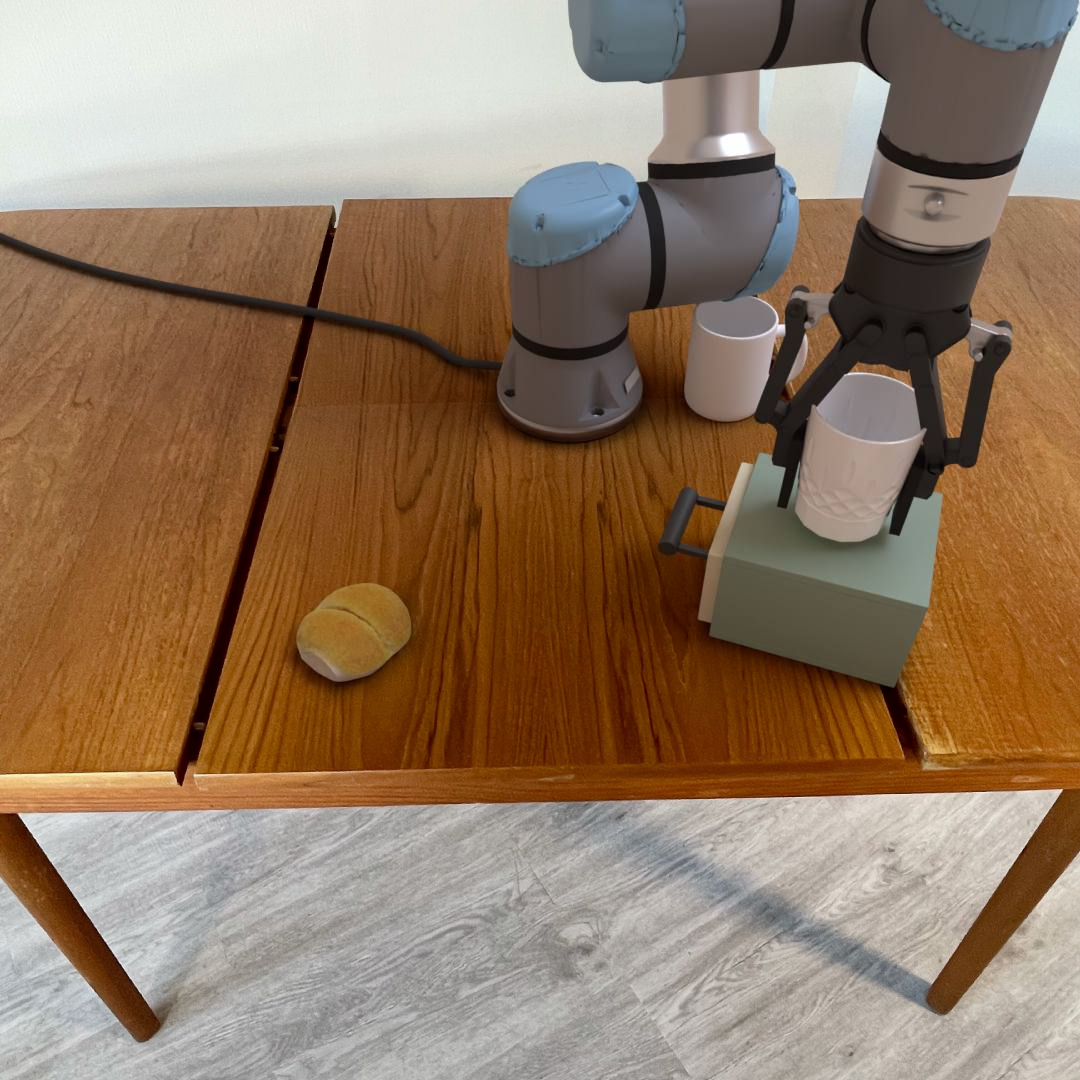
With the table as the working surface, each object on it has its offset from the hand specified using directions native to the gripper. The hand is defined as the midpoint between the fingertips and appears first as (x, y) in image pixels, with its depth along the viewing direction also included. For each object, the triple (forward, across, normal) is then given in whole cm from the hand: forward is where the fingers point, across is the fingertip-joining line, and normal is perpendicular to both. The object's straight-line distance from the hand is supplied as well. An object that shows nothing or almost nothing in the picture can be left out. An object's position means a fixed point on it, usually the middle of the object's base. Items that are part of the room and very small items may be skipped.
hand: (839, 509), depth 70 cm
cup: (+11, -12, +26) cm, 31 cm away
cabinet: (+11, 0, 0) cm, 11 cm away
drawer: (+10, -4, 0) cm, 11 cm away
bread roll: (+11, -34, -17) cm, 40 cm away
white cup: (0, 0, 0) cm, 0 cm away
